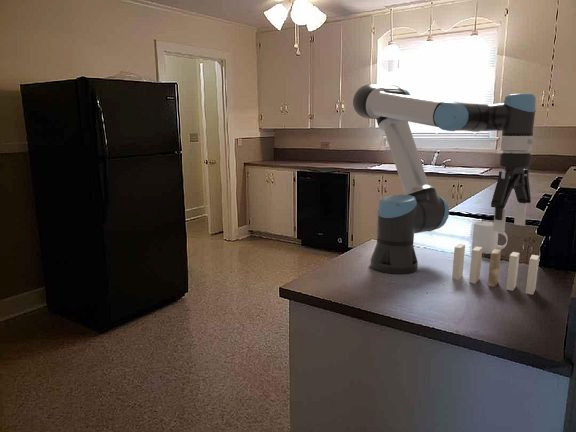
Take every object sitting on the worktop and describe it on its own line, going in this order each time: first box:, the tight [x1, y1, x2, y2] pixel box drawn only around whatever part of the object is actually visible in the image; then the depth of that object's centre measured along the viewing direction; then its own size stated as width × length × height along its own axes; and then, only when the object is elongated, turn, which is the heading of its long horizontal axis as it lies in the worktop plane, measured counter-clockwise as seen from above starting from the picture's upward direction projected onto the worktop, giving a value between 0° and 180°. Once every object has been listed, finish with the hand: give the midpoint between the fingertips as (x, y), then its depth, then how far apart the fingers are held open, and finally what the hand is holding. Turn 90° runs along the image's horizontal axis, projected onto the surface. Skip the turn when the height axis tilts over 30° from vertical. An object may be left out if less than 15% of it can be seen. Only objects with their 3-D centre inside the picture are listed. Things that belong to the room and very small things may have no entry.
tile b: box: [468, 246, 483, 284], centre depth 130 cm, size 2×5×10 cm, turn 144°
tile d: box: [525, 254, 540, 295], centre depth 121 cm, size 2×5×10 cm, turn 144°
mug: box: [471, 220, 509, 255], centre depth 162 cm, size 9×12×11 cm
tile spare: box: [487, 249, 502, 288], centre depth 127 cm, size 2×5×10 cm, turn 144°
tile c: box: [505, 251, 521, 292], centre depth 124 cm, size 2×5×10 cm, turn 144°
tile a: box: [451, 243, 466, 281], centre depth 133 cm, size 2×5×10 cm, turn 144°
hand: (509, 228), depth 123 cm, fingers open, 13 cm apart
